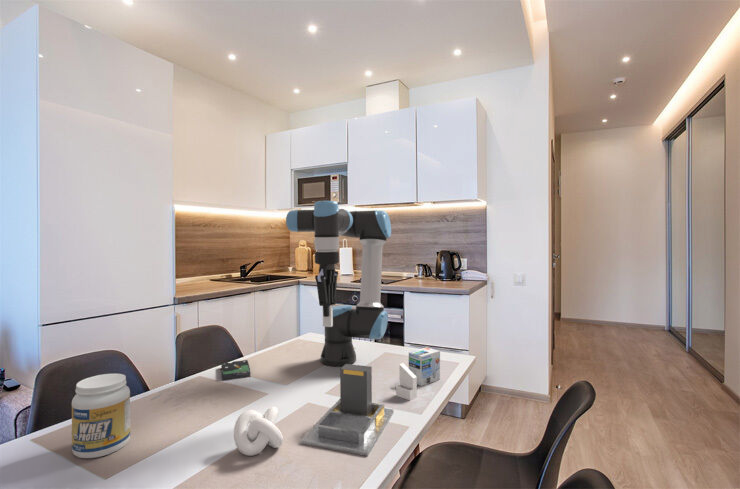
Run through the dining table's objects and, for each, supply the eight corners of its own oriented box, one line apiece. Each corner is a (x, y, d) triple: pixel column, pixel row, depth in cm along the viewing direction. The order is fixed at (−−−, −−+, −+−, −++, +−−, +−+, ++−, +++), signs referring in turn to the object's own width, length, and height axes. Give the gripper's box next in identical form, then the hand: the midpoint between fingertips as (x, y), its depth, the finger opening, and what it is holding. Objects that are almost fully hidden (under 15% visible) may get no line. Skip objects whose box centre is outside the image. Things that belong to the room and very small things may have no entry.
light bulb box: (421, 386, 136) (421, 356, 135) (407, 381, 141) (407, 352, 140) (440, 379, 143) (440, 350, 142) (426, 374, 148) (426, 346, 147)
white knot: (246, 434, 103) (245, 401, 103) (290, 434, 103) (290, 401, 103) (229, 458, 92) (229, 421, 92) (279, 459, 91) (279, 421, 91)
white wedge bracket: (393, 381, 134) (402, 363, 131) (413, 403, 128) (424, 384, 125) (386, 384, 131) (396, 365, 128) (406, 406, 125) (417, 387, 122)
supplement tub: (64, 465, 89) (63, 393, 89) (80, 440, 100) (79, 375, 100) (126, 453, 94) (125, 385, 94) (134, 430, 105) (133, 369, 105)
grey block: (346, 410, 114) (346, 363, 114) (371, 414, 112) (371, 366, 112) (340, 417, 110) (340, 368, 110) (366, 421, 107) (366, 371, 107)
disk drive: (220, 369, 155) (221, 381, 142) (220, 362, 155) (221, 374, 142) (247, 366, 159) (251, 377, 146) (247, 359, 159) (251, 370, 146)
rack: (338, 404, 121) (338, 393, 121) (393, 412, 115) (393, 401, 115) (301, 443, 98) (301, 430, 98) (367, 456, 93) (367, 441, 93)
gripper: (324, 249, 127) (325, 320, 128) (306, 252, 114) (307, 330, 115) (345, 249, 124) (346, 321, 125) (329, 252, 112) (331, 332, 113)
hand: (327, 326), depth 120 cm, fingers closed
